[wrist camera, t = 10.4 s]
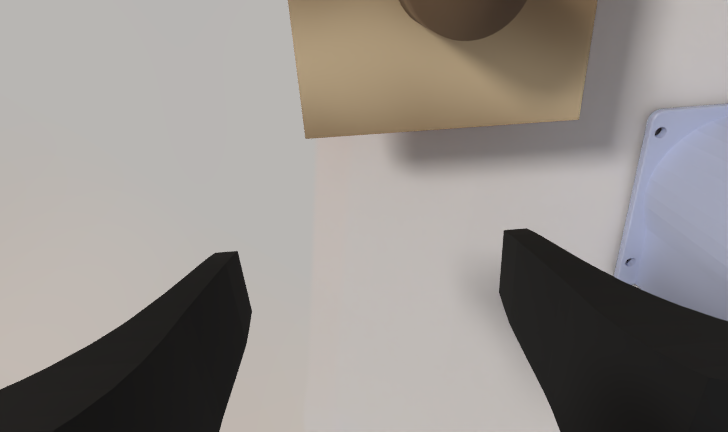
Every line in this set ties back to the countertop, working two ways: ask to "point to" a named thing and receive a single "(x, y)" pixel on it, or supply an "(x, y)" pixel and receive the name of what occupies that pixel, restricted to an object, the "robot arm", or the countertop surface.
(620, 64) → the countertop surface
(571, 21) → the lid
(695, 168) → the robot arm
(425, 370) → the countertop surface
